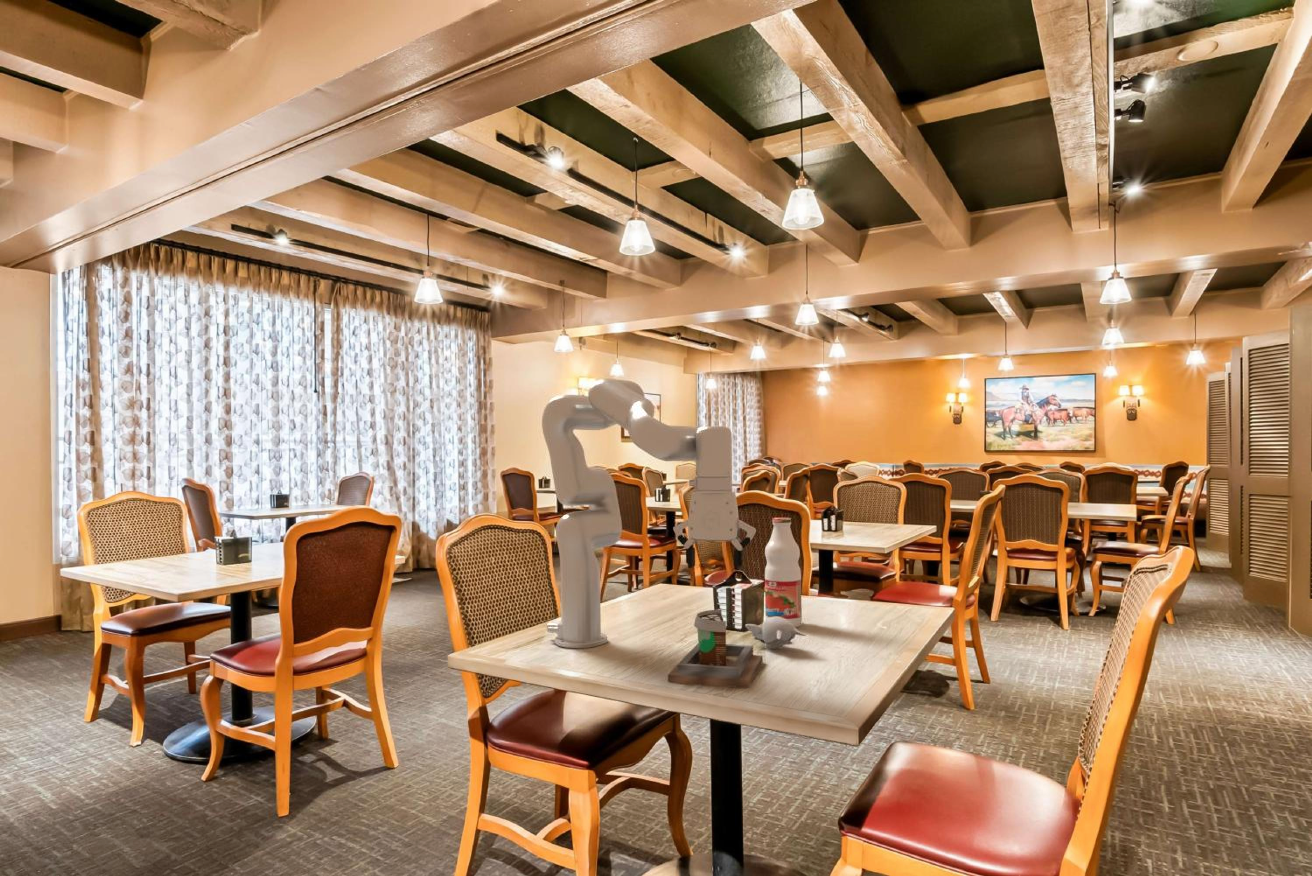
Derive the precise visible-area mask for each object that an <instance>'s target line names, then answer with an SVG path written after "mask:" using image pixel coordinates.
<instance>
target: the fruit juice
mask: <svg viewBox="0 0 1312 876" xmlns="http://www.w3.org/2000/svg"><path fill="white" fill-rule="evenodd" d="M771 522H772V525H773V528H772V532H771V535H770V538H769V540H768V542H767V544H766V545H765V548H764V556H765V559H766V560H765V561H766V566H765V568H764V596H765V597H764V601H765V603H764V605H765V610H764V611H765V620H766V619H768V618H770V617H774V616H778V617H782V618H785V619H787V620H788V621H790V622H791V623H792V624H793V625H794V626H795V628H798V627H800V626H801V625H802V619H803V618H802V617H803V616H802V615H803V614H802V613H803V612H802V607H803V606H802V571H801V567H800V565H799V559H800V557H801V556H800V555H801V553H800V552H801V551H800V547H799V545H798V543H797V542H796V540H795V538H794V536H793V533H792V529H791V525H792V518H791V517H772V520H771Z"/></svg>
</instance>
